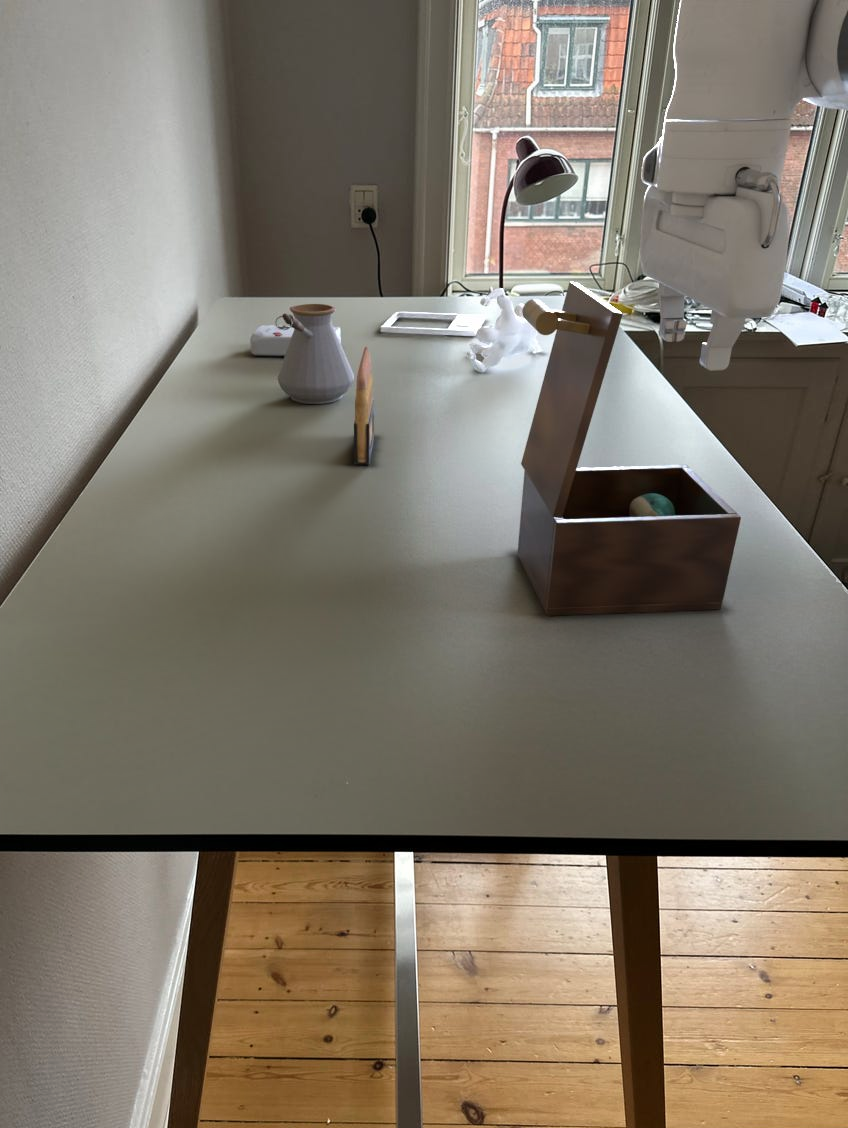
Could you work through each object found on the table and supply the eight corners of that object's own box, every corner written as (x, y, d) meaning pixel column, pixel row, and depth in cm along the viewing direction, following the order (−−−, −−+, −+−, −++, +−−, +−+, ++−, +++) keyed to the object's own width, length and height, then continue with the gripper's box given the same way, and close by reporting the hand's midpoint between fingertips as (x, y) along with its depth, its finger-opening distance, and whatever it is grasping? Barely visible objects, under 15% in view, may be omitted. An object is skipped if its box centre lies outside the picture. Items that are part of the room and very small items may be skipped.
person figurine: (483, 284, 158) (484, 283, 141) (555, 303, 157) (565, 304, 141) (462, 361, 162) (462, 369, 146) (532, 379, 162) (539, 389, 145)
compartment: (671, 548, 92) (686, 464, 87) (721, 609, 81) (741, 517, 76) (517, 554, 91) (524, 469, 86) (546, 616, 80) (556, 523, 75)
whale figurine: (622, 523, 90) (657, 505, 90) (662, 581, 87) (698, 563, 87) (624, 491, 85) (662, 473, 85) (667, 552, 81) (705, 533, 81)
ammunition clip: (369, 465, 113) (368, 366, 106) (354, 465, 113) (352, 366, 107) (374, 437, 122) (374, 344, 116) (360, 437, 122) (359, 344, 116)
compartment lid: (578, 283, 78) (519, 272, 77) (623, 313, 67) (555, 301, 66) (528, 465, 86) (475, 457, 85) (561, 518, 75) (501, 510, 75)
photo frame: (475, 330, 170) (380, 325, 174) (474, 336, 171) (380, 331, 175) (485, 314, 183) (396, 310, 186) (484, 319, 183) (396, 316, 187)
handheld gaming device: (261, 345, 167) (259, 323, 165) (341, 347, 165) (340, 325, 163) (249, 358, 159) (247, 335, 157) (332, 360, 157) (331, 337, 155)
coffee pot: (290, 384, 144) (285, 283, 136) (361, 388, 142) (360, 286, 134) (248, 426, 126) (239, 313, 118) (329, 431, 124) (326, 316, 116)
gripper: (831, 173, 59) (785, 386, 67) (710, 155, 77) (684, 325, 84) (735, 176, 59) (700, 389, 66) (636, 157, 77) (616, 327, 84)
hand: (690, 353), depth 75 cm, fingers open, 8 cm apart
